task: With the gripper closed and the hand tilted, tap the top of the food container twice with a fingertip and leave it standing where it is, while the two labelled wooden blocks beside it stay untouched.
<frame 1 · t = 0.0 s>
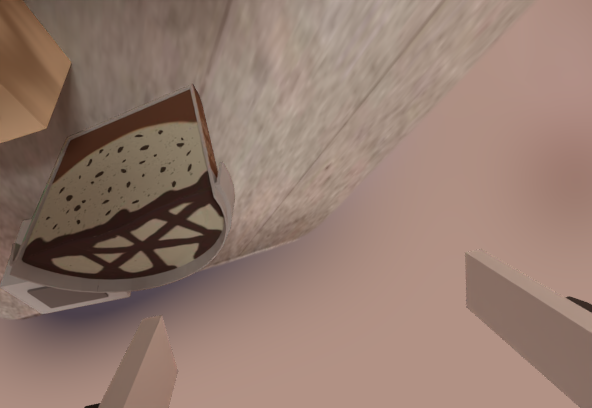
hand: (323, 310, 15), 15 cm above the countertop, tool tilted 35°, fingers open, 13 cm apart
food container: (157, 141, 25), on the countertop
grey painted block: (83, 229, 31), on the countertop
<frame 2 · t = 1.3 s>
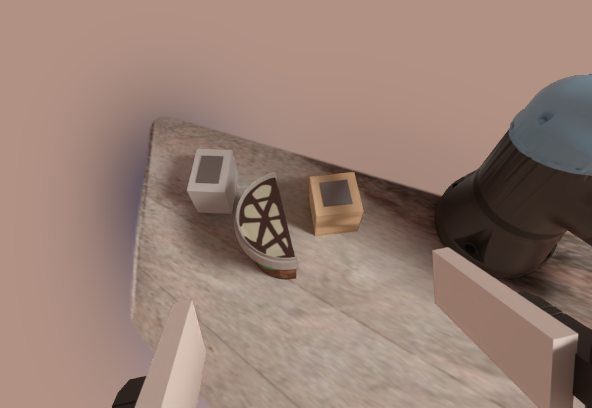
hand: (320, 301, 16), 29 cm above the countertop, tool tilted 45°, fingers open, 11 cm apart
food container: (266, 251, 49), on the countertop
oak block: (332, 214, 51), on the countertop
grey painted block: (219, 192, 53), on the countertop
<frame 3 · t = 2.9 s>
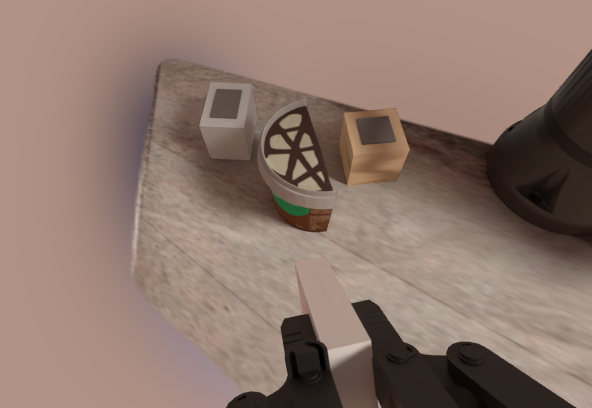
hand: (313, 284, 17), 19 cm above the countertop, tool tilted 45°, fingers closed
food container: (290, 201, 41), on the countertop
oak block: (366, 163, 44), on the countertop
grey painted block: (234, 138, 46), on the countertop
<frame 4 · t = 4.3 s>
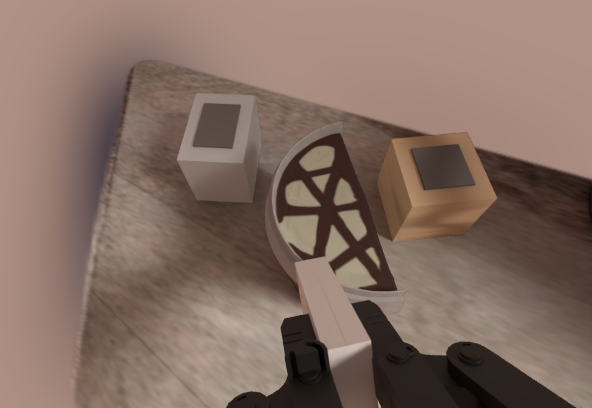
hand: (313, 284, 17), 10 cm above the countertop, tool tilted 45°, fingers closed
food container: (312, 266, 28), on the countertop, touching gripper
oak block: (417, 207, 31), on the countertop
grey painted block: (230, 169, 33), on the countertop
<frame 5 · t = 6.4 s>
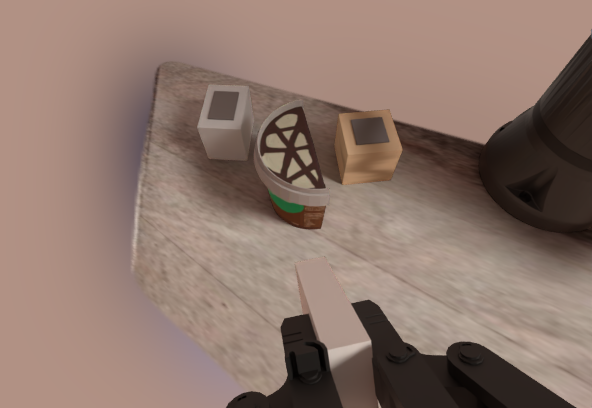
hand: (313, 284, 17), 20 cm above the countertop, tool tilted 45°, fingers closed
food container: (287, 199, 43), on the countertop
oak block: (361, 163, 45), on the countertop
grey painted block: (232, 139, 47), on the countertop
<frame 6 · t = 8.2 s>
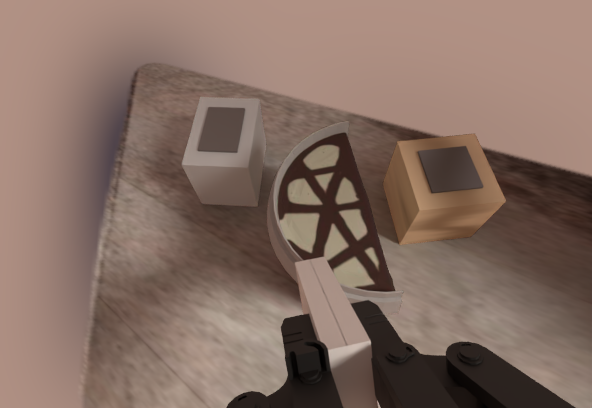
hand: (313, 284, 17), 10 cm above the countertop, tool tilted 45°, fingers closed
food container: (315, 266, 28), on the countertop, touching gripper
oak block: (424, 209, 31), on the countertop
grey painted block: (235, 173, 33), on the countertop
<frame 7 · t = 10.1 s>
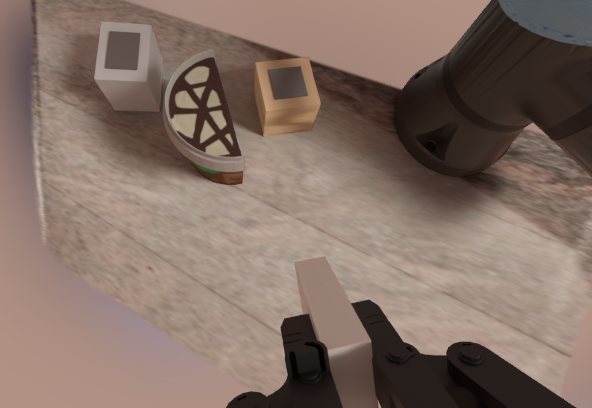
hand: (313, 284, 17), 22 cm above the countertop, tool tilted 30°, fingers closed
food container: (206, 153, 41), on the countertop
oak block: (282, 111, 44), on the countertop
grey painted block: (140, 85, 42), on the countertop
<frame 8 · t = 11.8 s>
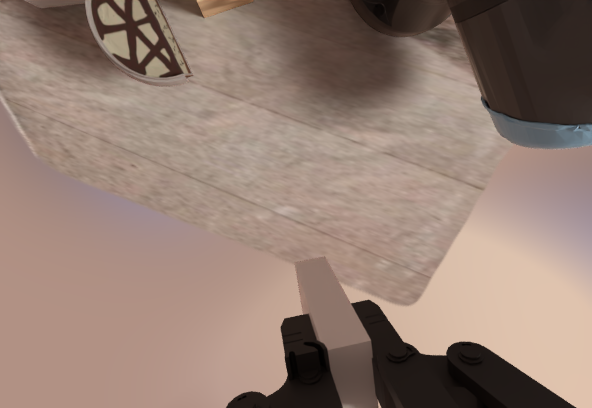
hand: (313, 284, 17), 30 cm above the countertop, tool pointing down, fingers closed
food container: (150, 46, 41), on the countertop
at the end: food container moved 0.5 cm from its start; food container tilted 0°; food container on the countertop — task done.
